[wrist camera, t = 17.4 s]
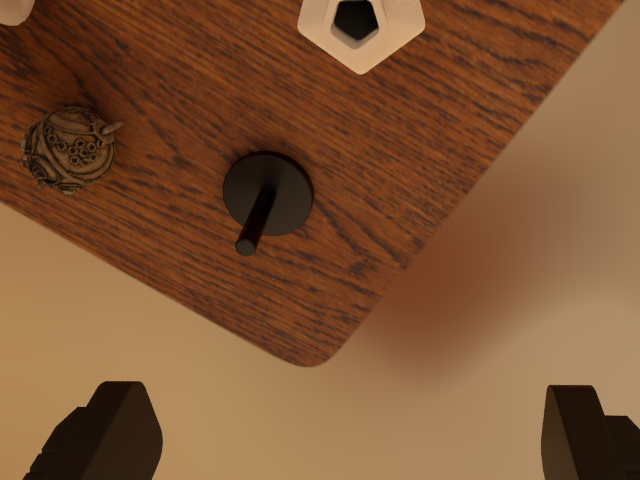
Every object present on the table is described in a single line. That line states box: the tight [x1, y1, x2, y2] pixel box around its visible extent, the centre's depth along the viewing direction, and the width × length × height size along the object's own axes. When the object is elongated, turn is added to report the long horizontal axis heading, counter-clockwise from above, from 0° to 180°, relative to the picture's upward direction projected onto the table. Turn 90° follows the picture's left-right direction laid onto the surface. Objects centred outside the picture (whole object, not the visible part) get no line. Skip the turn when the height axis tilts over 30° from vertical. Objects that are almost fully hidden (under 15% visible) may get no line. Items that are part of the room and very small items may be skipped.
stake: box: [223, 151, 314, 256], centre depth 36 cm, size 6×6×7 cm
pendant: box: [18, 106, 125, 194], centre depth 36 cm, size 5×8×5 cm, turn 120°
